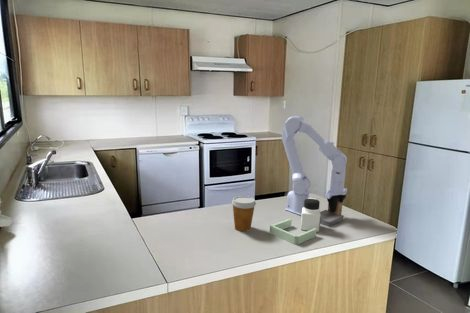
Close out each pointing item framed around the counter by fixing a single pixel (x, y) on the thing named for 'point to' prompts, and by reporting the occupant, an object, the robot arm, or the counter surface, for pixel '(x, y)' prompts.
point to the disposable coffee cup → (243, 212)
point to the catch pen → (278, 231)
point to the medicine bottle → (310, 215)
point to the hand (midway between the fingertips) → (334, 210)
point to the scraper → (331, 215)
